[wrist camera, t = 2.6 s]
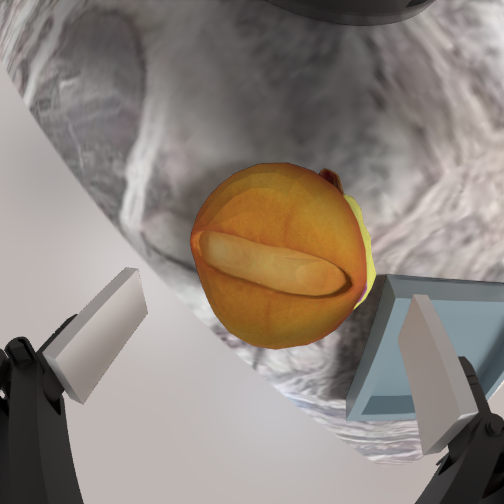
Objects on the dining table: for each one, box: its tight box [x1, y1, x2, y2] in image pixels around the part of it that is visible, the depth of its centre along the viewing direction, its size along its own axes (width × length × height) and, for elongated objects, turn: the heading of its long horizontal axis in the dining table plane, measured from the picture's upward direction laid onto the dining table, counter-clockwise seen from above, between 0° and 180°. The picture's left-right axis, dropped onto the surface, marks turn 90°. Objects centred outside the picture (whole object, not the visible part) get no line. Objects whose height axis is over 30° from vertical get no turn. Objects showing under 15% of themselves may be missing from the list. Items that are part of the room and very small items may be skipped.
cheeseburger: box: [190, 163, 376, 350], centre depth 16 cm, size 10×11×10 cm
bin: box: [346, 274, 504, 421], centre depth 20 cm, size 15×17×3 cm
